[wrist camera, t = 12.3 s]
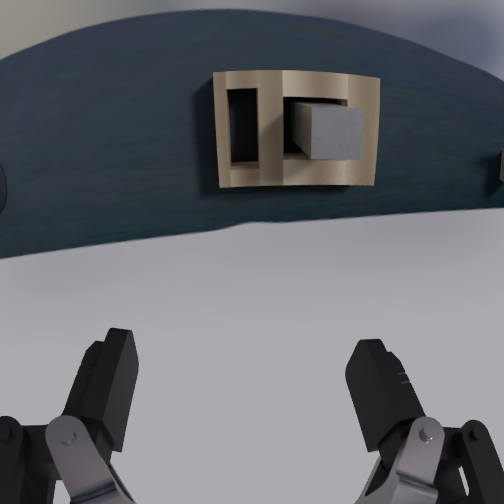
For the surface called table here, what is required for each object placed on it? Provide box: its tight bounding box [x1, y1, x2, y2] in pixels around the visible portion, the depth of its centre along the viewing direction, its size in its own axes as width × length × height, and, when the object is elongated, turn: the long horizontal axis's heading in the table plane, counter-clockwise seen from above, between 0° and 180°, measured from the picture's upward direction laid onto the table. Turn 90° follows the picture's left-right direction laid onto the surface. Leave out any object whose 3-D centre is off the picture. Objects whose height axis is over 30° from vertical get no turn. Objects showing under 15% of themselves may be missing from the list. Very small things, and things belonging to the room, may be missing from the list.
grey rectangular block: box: [290, 101, 363, 160], centre depth 22 cm, size 4×4×9 cm
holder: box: [213, 70, 380, 188], centre depth 25 cm, size 14×10×3 cm
